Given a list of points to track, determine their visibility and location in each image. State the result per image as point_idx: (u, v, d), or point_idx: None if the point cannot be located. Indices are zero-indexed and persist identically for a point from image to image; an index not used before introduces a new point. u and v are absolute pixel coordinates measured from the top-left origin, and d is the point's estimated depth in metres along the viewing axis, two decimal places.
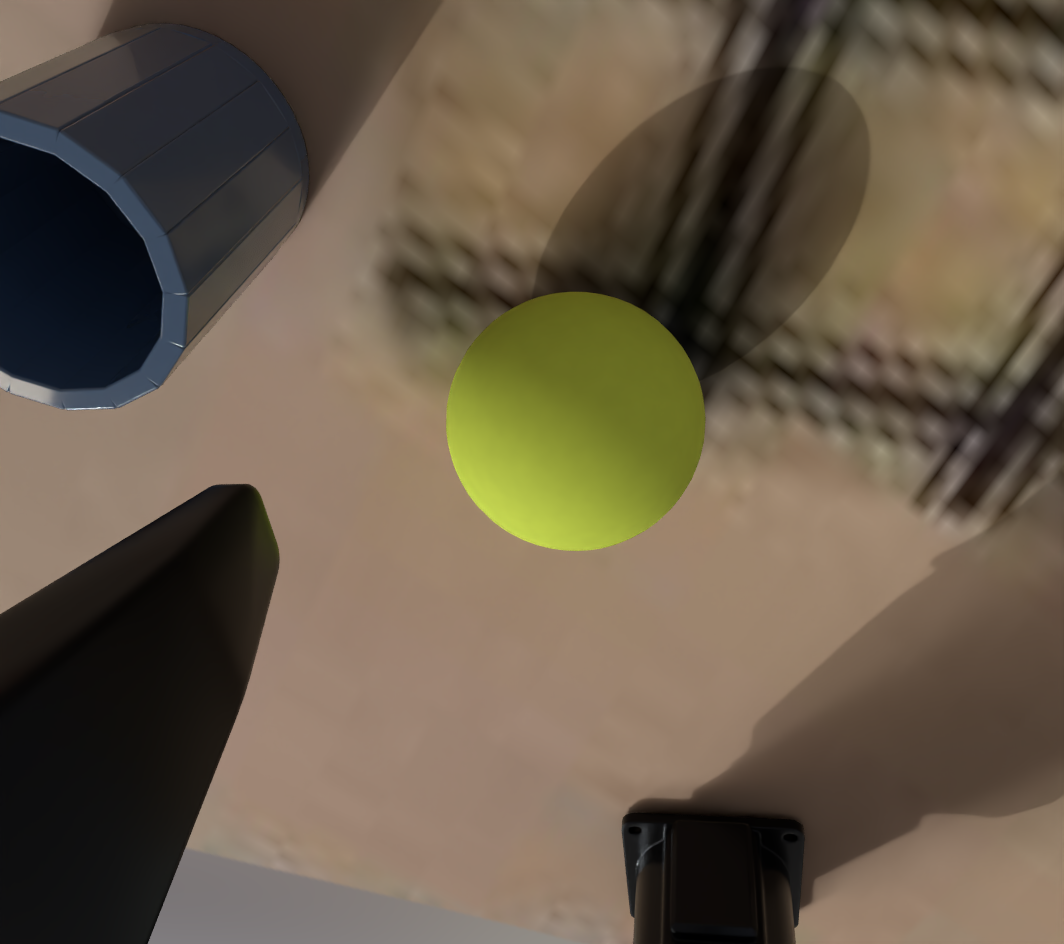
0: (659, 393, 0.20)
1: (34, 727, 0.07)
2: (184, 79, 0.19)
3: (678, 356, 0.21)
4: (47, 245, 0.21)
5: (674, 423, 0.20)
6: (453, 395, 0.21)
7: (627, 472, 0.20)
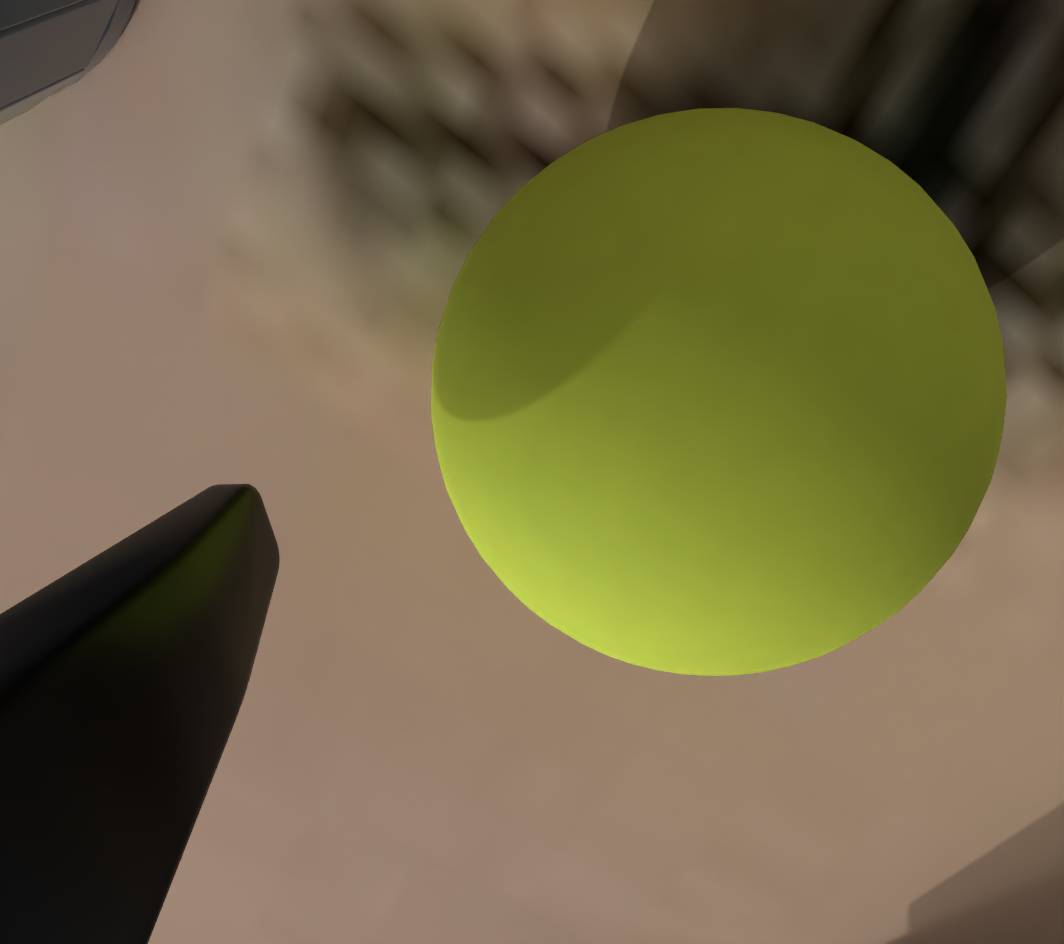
0: (950, 319, 0.08)
1: (34, 727, 0.07)
2: None
3: (963, 243, 0.09)
4: None
5: (978, 395, 0.08)
6: (445, 335, 0.10)
7: (875, 515, 0.08)
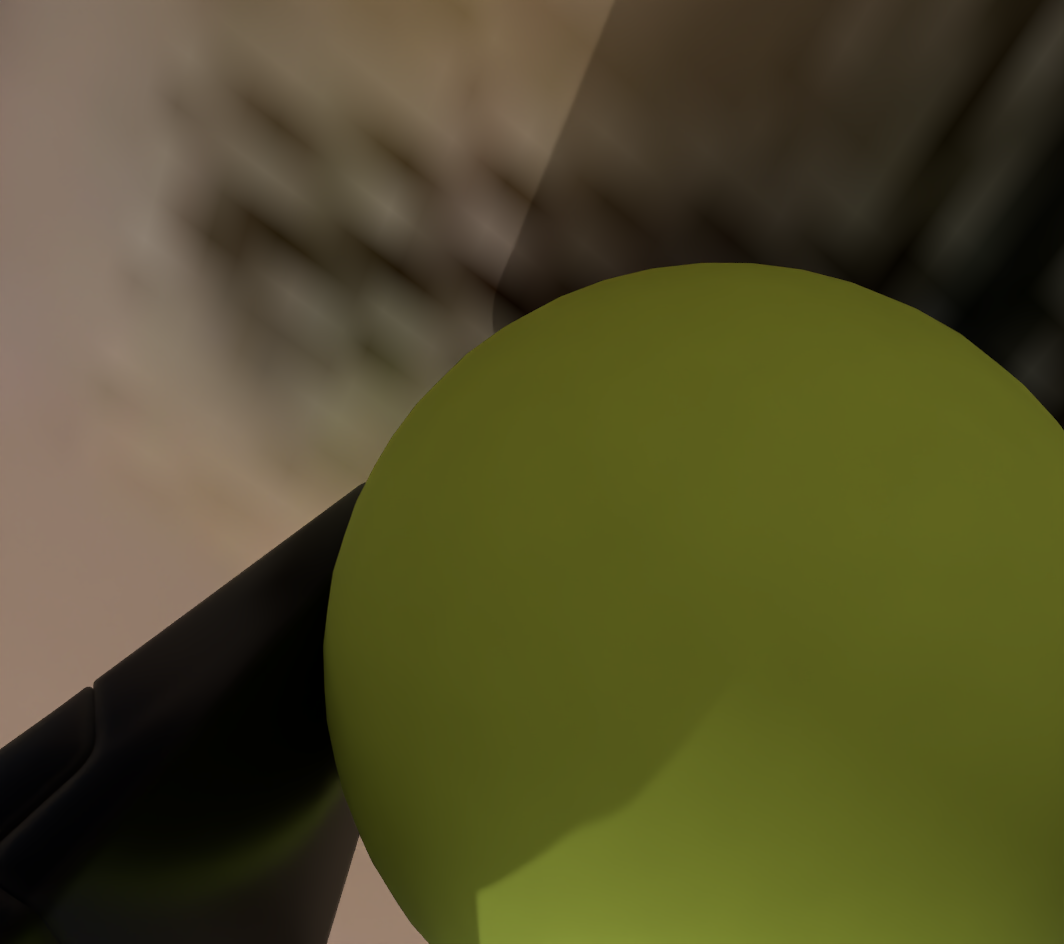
0: None
1: (241, 734, 0.06)
2: None
3: None
4: None
5: None
6: (336, 596, 0.07)
7: None
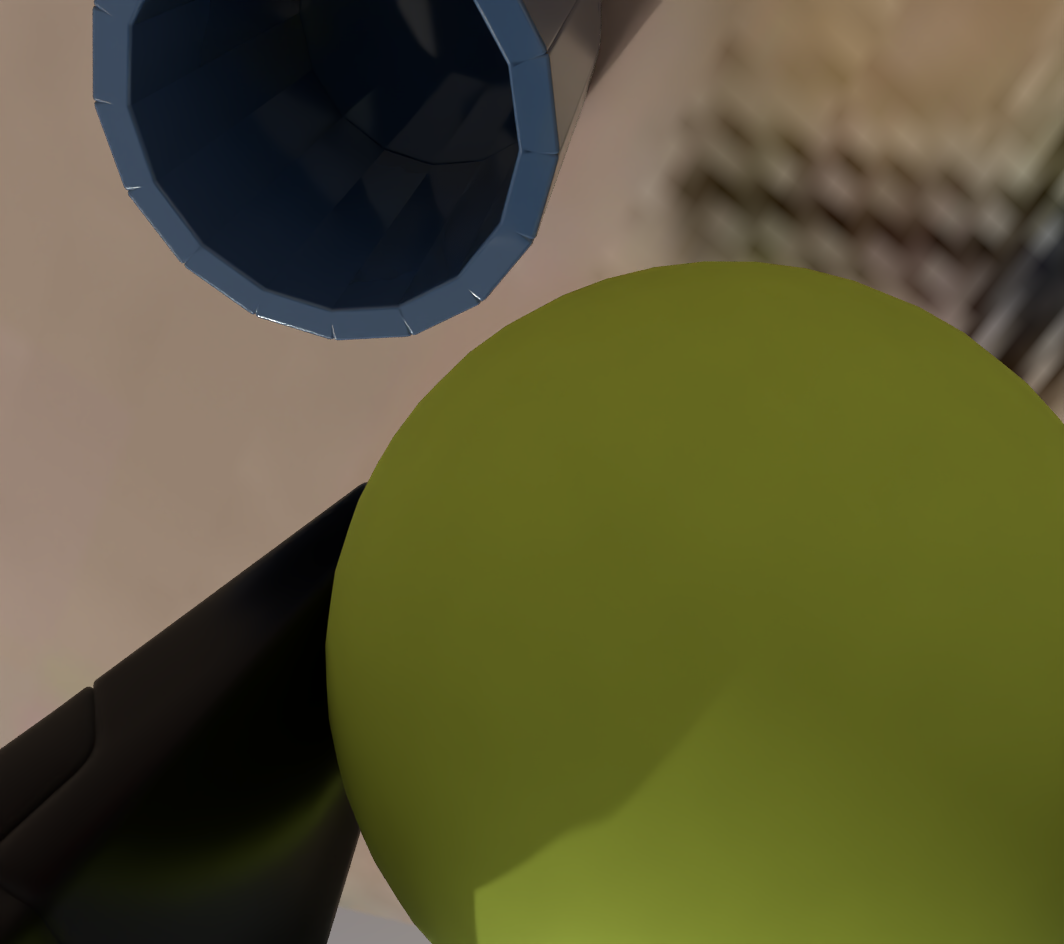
0: None
1: (241, 733, 0.06)
2: None
3: None
4: (274, 128, 0.16)
5: None
6: (338, 595, 0.07)
7: None
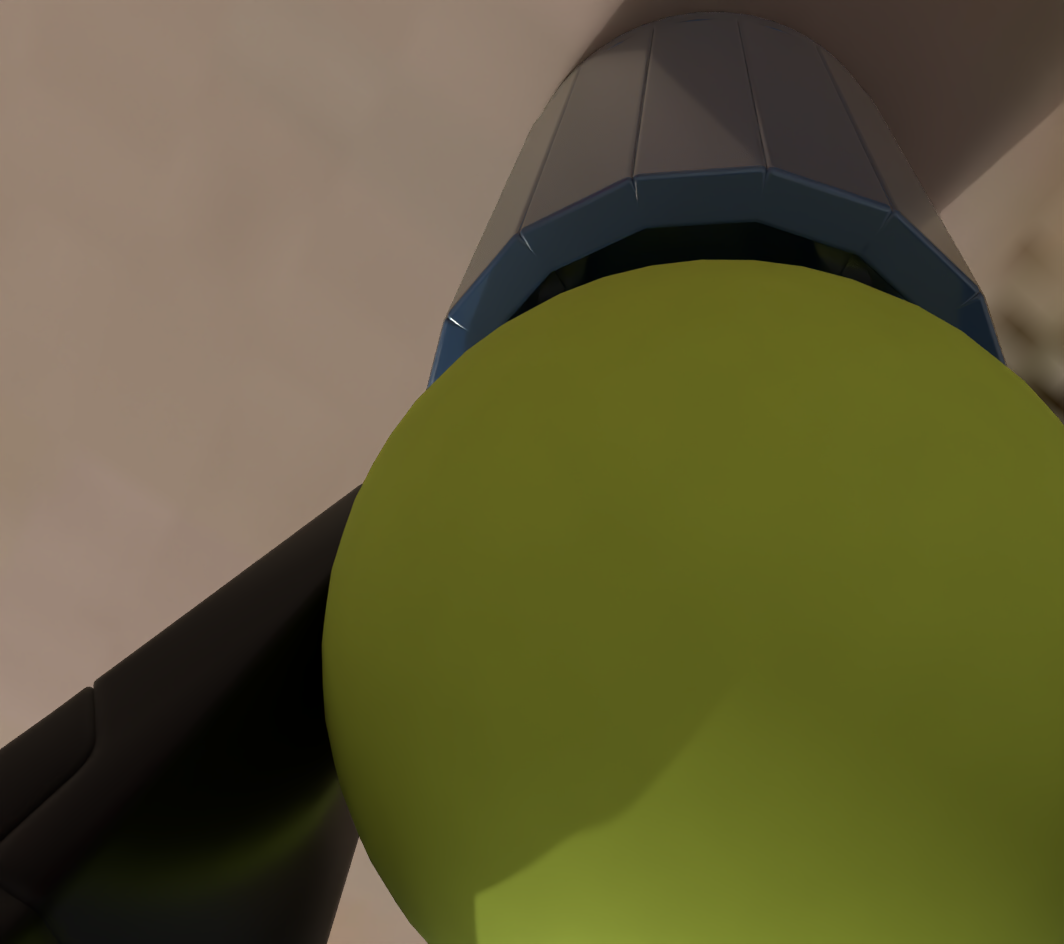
0: None
1: (241, 734, 0.06)
2: (855, 103, 0.12)
3: None
4: None
5: None
6: (334, 593, 0.07)
7: None
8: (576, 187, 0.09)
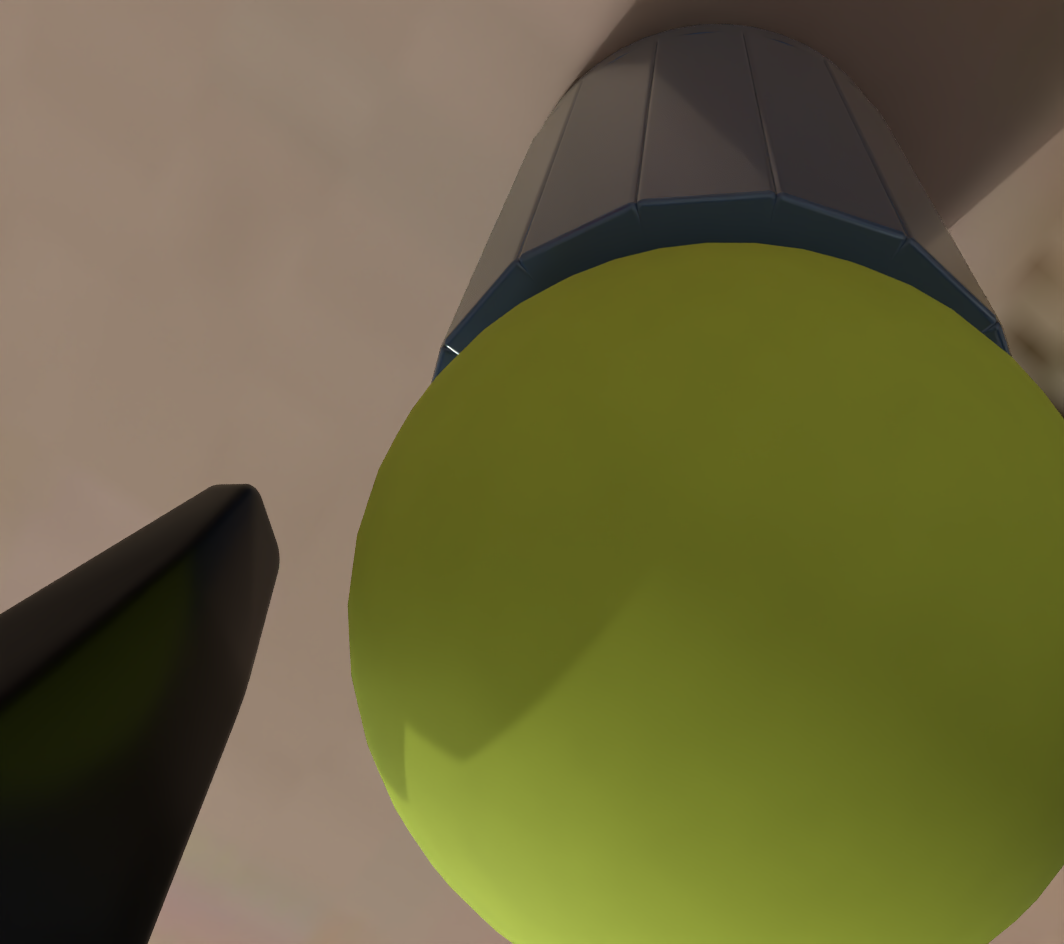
0: None
1: (34, 727, 0.07)
2: (865, 119, 0.11)
3: None
4: None
5: None
6: (361, 555, 0.07)
7: (966, 882, 0.05)
8: (578, 211, 0.09)
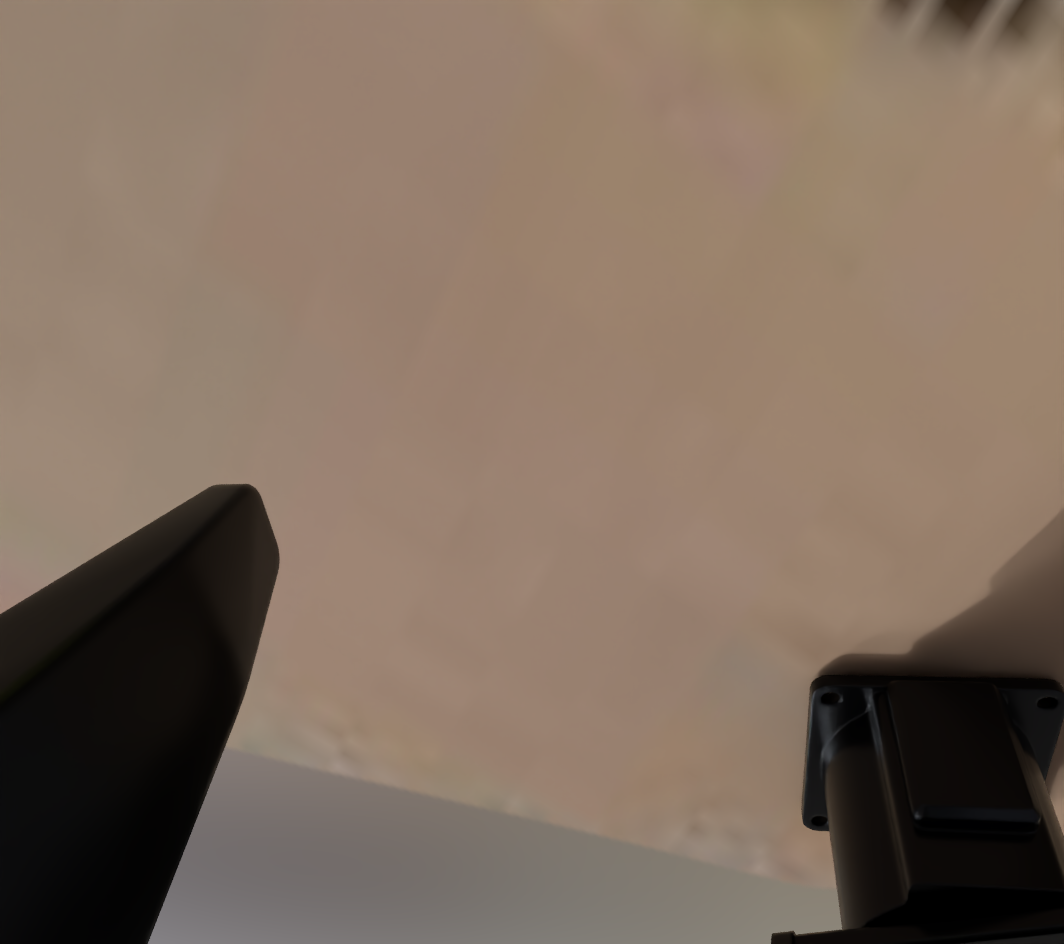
0: None
1: (34, 727, 0.07)
2: None
3: None
4: None
5: None
6: None
7: None
8: None
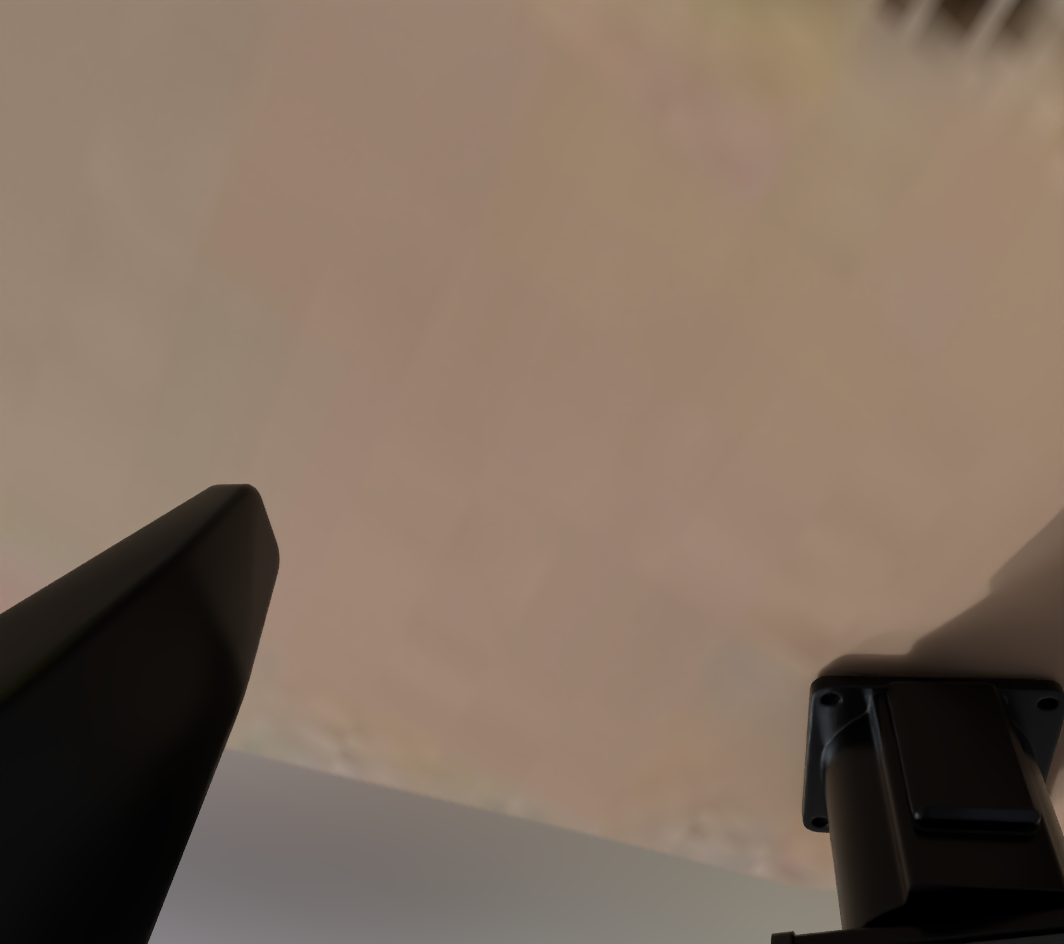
0: None
1: (34, 727, 0.07)
2: None
3: None
4: None
5: None
6: None
7: None
8: None
